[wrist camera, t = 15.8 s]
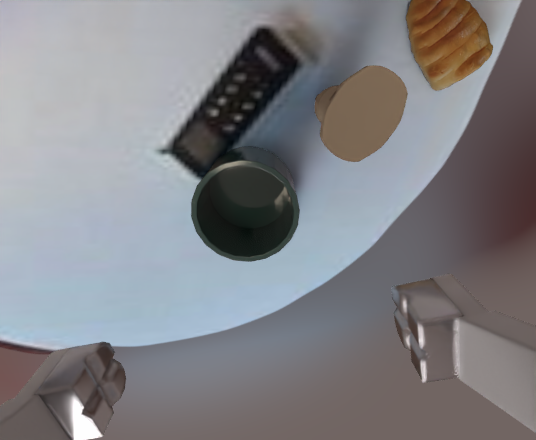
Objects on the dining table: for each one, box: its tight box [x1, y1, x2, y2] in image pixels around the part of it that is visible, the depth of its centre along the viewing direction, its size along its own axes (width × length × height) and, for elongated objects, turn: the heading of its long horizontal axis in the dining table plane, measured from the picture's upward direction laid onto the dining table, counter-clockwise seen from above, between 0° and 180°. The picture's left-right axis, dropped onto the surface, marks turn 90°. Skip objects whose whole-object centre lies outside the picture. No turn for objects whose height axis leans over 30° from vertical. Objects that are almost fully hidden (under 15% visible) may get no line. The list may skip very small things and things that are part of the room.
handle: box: [314, 66, 408, 162], centre depth 30 cm, size 5×6×15 cm
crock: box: [191, 146, 300, 262], centre depth 37 cm, size 11×11×8 cm
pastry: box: [406, 0, 493, 90], centre depth 32 cm, size 9×7×4 cm
